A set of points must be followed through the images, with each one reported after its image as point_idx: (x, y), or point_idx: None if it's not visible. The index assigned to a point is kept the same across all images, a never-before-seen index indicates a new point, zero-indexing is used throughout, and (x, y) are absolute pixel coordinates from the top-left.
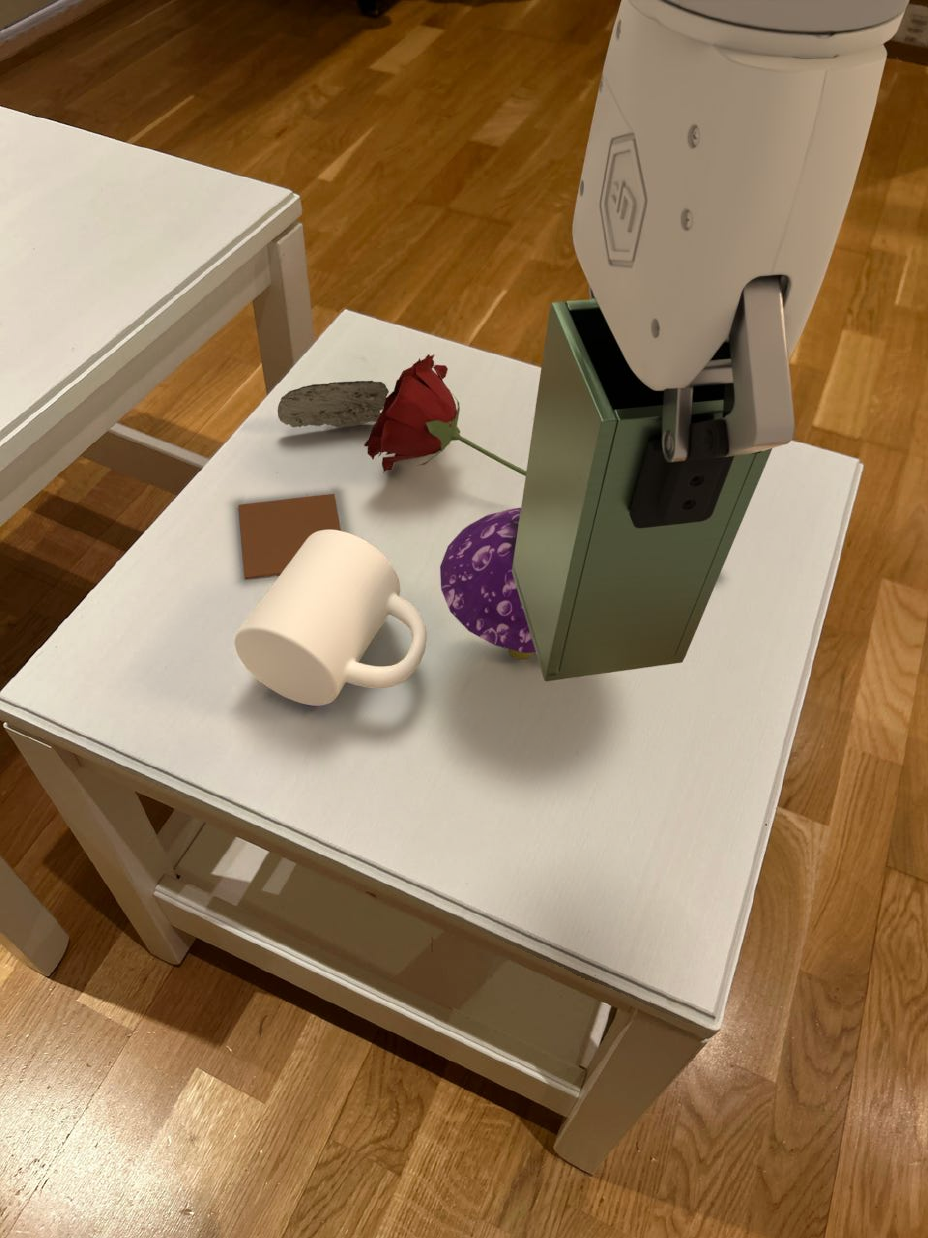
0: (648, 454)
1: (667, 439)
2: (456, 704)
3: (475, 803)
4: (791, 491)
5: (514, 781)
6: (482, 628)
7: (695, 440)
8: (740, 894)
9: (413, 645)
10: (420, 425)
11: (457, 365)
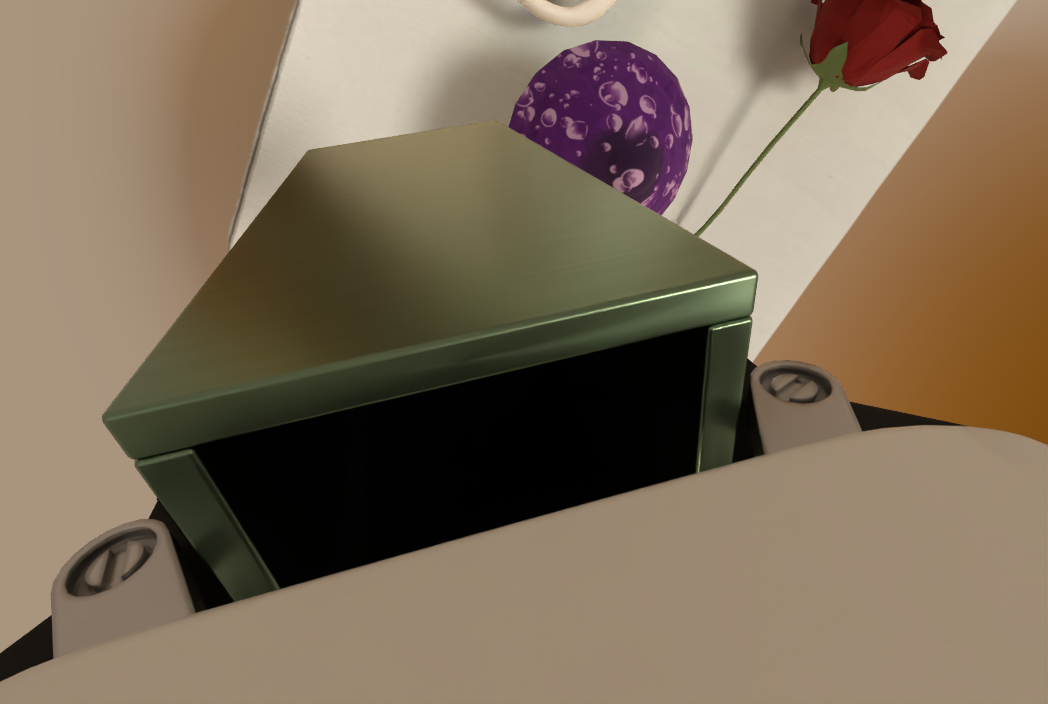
0: None
1: (137, 556)
2: (505, 62)
3: (394, 75)
4: None
5: (420, 119)
6: (535, 89)
7: (48, 659)
8: None
9: (551, 6)
10: (846, 34)
11: (927, 98)
